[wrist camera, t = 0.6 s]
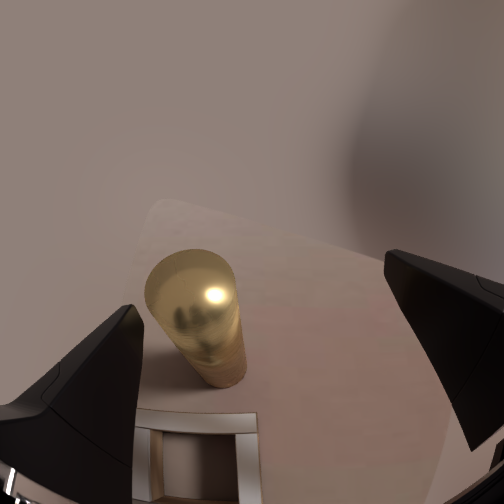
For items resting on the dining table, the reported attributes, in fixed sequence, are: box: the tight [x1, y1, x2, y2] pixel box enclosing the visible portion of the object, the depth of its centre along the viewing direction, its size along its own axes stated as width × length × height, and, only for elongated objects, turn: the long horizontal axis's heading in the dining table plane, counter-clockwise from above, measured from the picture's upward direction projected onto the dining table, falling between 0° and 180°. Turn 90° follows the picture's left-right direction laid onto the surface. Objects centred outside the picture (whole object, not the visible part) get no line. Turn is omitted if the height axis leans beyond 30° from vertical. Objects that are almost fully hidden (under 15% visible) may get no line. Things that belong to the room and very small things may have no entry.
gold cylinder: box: [144, 249, 247, 388], centre depth 16 cm, size 4×4×12 cm
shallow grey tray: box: [132, 408, 263, 504], centre depth 14 cm, size 9×9×3 cm
